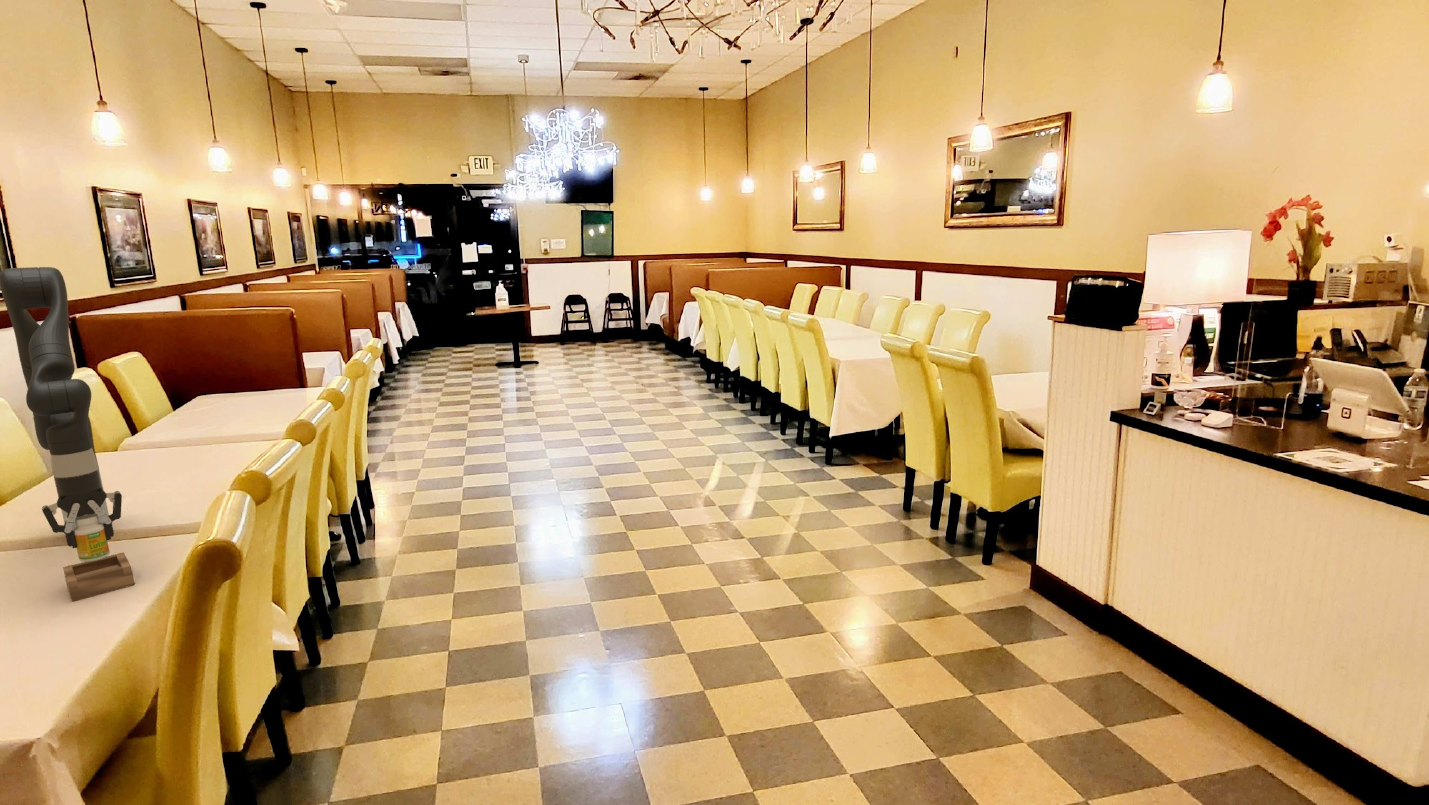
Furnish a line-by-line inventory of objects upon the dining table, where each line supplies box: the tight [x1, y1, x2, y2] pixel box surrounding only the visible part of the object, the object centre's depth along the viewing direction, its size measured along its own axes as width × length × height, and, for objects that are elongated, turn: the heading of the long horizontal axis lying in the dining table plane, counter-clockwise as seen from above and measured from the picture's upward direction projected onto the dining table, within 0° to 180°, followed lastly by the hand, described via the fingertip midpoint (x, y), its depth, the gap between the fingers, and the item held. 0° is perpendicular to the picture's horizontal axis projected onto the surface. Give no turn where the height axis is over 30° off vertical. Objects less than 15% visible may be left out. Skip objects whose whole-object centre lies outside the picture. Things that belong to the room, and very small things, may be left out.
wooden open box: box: [62, 551, 136, 602], centre depth 171 cm, size 11×11×4 cm
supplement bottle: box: [73, 514, 111, 563], centre depth 169 cm, size 5×5×10 cm
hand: (91, 542), depth 169 cm, fingers closed on supplement bottle, 5 cm apart
